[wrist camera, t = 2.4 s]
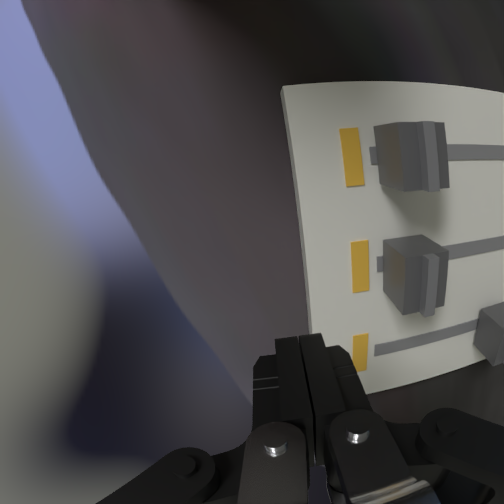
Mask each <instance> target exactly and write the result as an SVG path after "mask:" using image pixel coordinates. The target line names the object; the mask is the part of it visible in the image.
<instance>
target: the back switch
mask: <svg viewBox="0 0 504 504" xmlns="http://www.w3.org/2000/svg"><path fill="white" fill-rule="evenodd" d="M473 344H474V345H475V346H476V348H477V349H478V350H479V351H480V352H481V353H482V354H483V355H484V356H485V358H486V359H487V360H488V361H489V362H490V363H491V364H492V366H496V365H498V364H500V363H504V302H501V303H498V304H495V305H492V306H488V307H485V308H482V309H481V310H480V315H479V320H478V325H477V330H476V334H475V339H474V343H473Z"/></svg>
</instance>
